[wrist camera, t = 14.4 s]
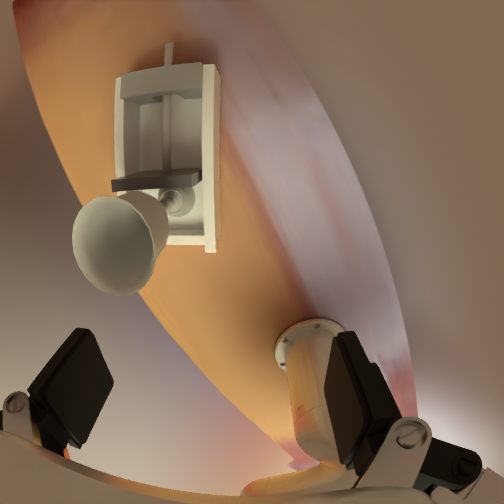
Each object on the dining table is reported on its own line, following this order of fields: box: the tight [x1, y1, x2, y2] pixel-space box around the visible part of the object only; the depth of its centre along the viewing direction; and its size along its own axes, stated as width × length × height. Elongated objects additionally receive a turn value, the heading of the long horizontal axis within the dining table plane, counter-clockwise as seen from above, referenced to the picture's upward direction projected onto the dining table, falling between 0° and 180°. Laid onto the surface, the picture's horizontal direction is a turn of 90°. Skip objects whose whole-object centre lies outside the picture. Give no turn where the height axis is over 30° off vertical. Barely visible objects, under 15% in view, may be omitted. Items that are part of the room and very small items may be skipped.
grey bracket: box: [114, 62, 221, 253], centre depth 29 cm, size 21×11×7 cm, turn 179°
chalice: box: [72, 188, 195, 296], centre depth 25 cm, size 7×7×18 cm
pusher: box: [111, 43, 202, 192], centre depth 25 cm, size 17×8×9 cm, turn 179°
